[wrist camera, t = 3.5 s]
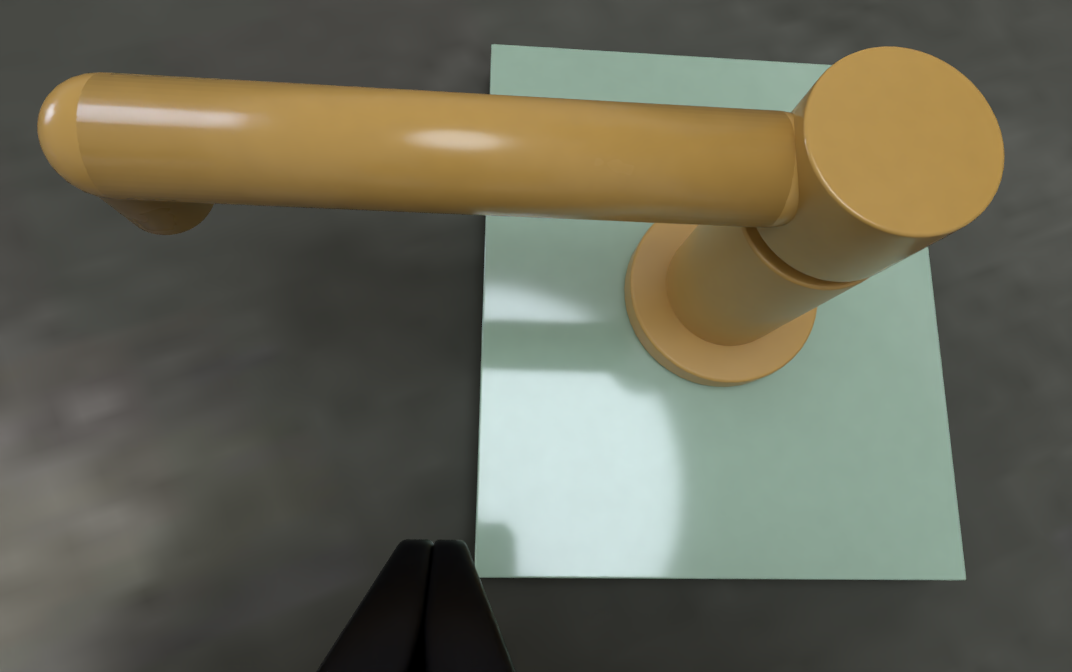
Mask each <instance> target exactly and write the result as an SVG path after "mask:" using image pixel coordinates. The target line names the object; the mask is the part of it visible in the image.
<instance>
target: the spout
mask: <svg viewBox="0 0 1072 672" xmlns="http://www.w3.org/2000/svg"><path fill="white" fill-rule="evenodd" d="M37 131H38V138H39V142H40V146H41V148H42V151H43V153H44V155H45V157H46V158H47V160H48V161H49V163H50V164H51V166H52V167H53V168H54V170H55V171H56V172H57V173H58V174H59V175H60V176H62V177H63V178H64V179H65V180H66V181H67V182H68V183H70V184H72V185H73V186H75V187H77V188H79V189H80V190H82V191H84V192H86V193H89V194H92V195H95V196H98V197H99V198H101V199H102V200H103V201H105V202H106V203H107V204H109V205H110V206H111V207H113V208H114V209H115V210H116V211H118V212H119V213H120V214H122V215H123V216H124V217H126V218H127V219H128V220H129V221H131V222H132V223H133V224H135V225H136V226H138V227H139V228H141V229H142V230H144V231H147V232H150V233H153V234H159V235H172V234H178V233H182V232H185V231H187V230H190V229H192V228H193V227H195V226H196V225H198V224H199V223H200V222H202V221H203V220H204V219H205V217H206V216H207V215H208V214H209V212H210V211H211V209H212V207H213V205H214V204H233V205H255V206H278V207H301V208H324V209H347V210H370V211H393V212H416V213H439V214H462V215H485V216H508V217H530V218H553V219H576V220H599V221H622V222H645V223H668V224H691V225H714V226H737V227H756V228H757V230H758V232H759V234H760V235H761V237H762V239H763V240H764V241H765V243H766V244H767V245H768V247H769V248H770V249H771V250H772V251H773V252H774V253H775V254H776V255H777V256H778V257H779V258H780V259H782V260H783V261H784V262H785V263H787V264H788V265H790V266H791V267H793V268H794V269H796V270H798V271H800V272H802V273H804V274H806V275H809V276H812V277H814V278H818V279H822V280H827V281H835V282H851V281H857V280H862V279H865V278H869V277H872V276H874V275H876V274H878V273H880V272H882V271H884V270H886V269H888V268H889V267H891V266H893V265H895V264H897V263H899V262H900V261H902V260H904V259H906V258H908V257H910V256H912V255H913V254H915V253H917V252H919V251H921V250H923V249H924V248H926V247H928V246H930V245H932V244H934V243H935V242H937V241H939V240H941V239H943V238H945V237H946V236H948V235H950V234H952V233H954V232H956V231H958V230H959V229H961V228H963V227H965V226H966V225H968V224H969V223H971V222H972V221H974V220H975V219H976V218H977V217H978V216H979V215H980V214H981V213H982V212H983V211H984V210H985V209H986V208H987V206H988V205H989V204H990V202H991V201H992V199H993V197H994V195H995V193H996V192H997V190H998V187H999V184H1000V181H1001V178H1002V173H1003V169H1004V144H1003V139H1002V134H1001V130H1000V127H999V125H998V122H997V119H996V117H995V115H994V113H993V111H992V109H991V107H990V105H989V104H988V102H987V101H986V99H985V98H984V96H983V95H982V94H981V92H980V91H979V90H978V89H977V87H976V86H975V85H974V84H973V83H972V82H971V81H970V80H969V79H968V78H967V77H965V76H964V75H963V74H962V73H960V72H959V71H958V70H957V69H955V68H954V67H952V66H951V65H949V64H947V63H946V62H944V61H942V60H940V59H938V58H936V57H934V56H932V55H929V54H926V53H924V52H921V51H917V50H913V49H909V48H902V47H876V48H869V49H865V50H861V51H858V52H855V53H853V54H850V55H848V56H846V57H844V58H842V59H841V60H839V61H837V62H836V63H834V64H833V65H832V66H831V67H829V68H828V69H827V70H826V71H825V72H824V73H823V74H822V75H821V76H820V77H819V79H818V80H817V81H816V82H815V83H814V85H813V86H812V87H811V88H810V90H809V91H808V92H807V93H806V94H805V96H804V97H803V98H802V99H801V101H800V102H799V103H798V104H797V105H796V107H795V108H794V109H793V110H792V111H791V112H786V111H778V110H760V109H743V108H725V107H707V106H690V105H672V104H654V103H636V102H619V101H601V100H583V99H565V98H548V97H530V96H512V95H495V94H477V93H459V92H441V91H424V90H406V89H388V88H370V87H353V86H335V85H317V84H300V83H282V82H264V81H246V80H229V79H211V78H193V77H175V76H158V75H140V74H122V73H104V72H99V73H87V74H82V75H79V76H75V77H71V78H69V79H68V80H66V81H64V82H62V83H61V84H59V85H58V86H56V87H55V88H54V89H53V90H52V91H51V92H50V93H49V95H48V96H47V97H46V98H45V101H44V103H43V105H42V107H41V109H40V112H39V115H38V122H37Z"/></svg>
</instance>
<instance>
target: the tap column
mask: <svg viewBox="0 0 1072 672" xmlns="http://www.w3.org/2000/svg"><path fill="white" fill-rule="evenodd" d="M869 278H870V277H869ZM867 279H868V278H865V279H862V280H857V281H851V282H835V281H827V280H822V279H818V278H814V277H812V276H809V275H806V274H804V273H802V272H800V271H798V270H796V269H794V268H793V267H791V266H790V265H788V264H787V263H785V262H784V261H783V260H782V259H780V258H779V257H778V256H777V255H776V254H775V253H774V252H773V251H772V250H771V249H770V248H769V247H768V245H767V244H766V243H765V241H764V240H763V239H762V237H761V235H760V234H759V232H758V230H757V228H756V227H737V226H714V225H691V224H668V223H654V224H653V225H652V226H651V227H650V228H649V229H648V231H647V232H646V233H645V234H644V236H643V237H642V239H641V240H640V242H639V244H638V245H637V247H636V249H635V251H634V252H633V254H632V256H631V259H630V262H629V264H628V268H627V272H626V276H625V286H624V291H625V304H626V309H627V313H628V317H629V320H630V323H631V325H632V327H633V330H634V332H635V334H636V336H637V337H638V339H639V341H640V342H641V344H642V345H643V346H644V348H645V349H646V350H647V351H648V353H649V354H650V355H651V356H652V357H653V358H654V359H655V360H656V361H657V362H658V363H659V364H661V365H662V366H663V367H665V368H666V369H667V370H669V371H670V372H672V373H674V374H676V375H677V376H679V377H681V378H684V379H686V380H689V381H691V382H694V383H698V384H702V385H707V386H714V387H731V386H738V385H743V384H746V383H750V382H753V381H756V380H758V379H761V378H763V377H765V376H768V375H770V374H772V373H774V372H776V371H777V370H779V369H781V368H782V367H784V366H785V365H786V364H787V363H788V362H790V361H791V360H792V359H793V358H794V357H795V356H796V355H797V353H798V352H799V351H800V350H801V348H802V347H803V346H804V344H805V343H806V341H807V339H808V337H809V335H810V333H811V331H812V328H813V325H814V321H815V318H816V312H817V307H818V306H819V305H821V304H823V303H825V302H827V301H829V300H830V299H832V298H834V297H836V296H838V295H840V294H842V293H843V292H845V291H847V290H849V289H851V288H853V287H854V286H856V285H858V284H860V283H862V282H863V281H865V280H867Z"/></svg>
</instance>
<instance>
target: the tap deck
mask: <svg viewBox="0 0 1072 672" xmlns="http://www.w3.org/2000/svg"><path fill="white" fill-rule="evenodd" d="M831 66H832V65H823V64H807V63H791V62H774V61H758V60H742V59H726V58H709V57H693V56H677V55H661V54H645V53H628V52H612V51H596V50H580V49H564V48H547V47H531V46H515V45H499V44H492V45H491V67H490V94H495V95H512V96H530V97H548V98H565V99H583V100H601V101H619V102H636V103H654V104H672V105H690V106H707V107H725V108H743V109H760V110H778V111H786V112H791V111H792V110H793V109H794V108H795V107H796V105H797V104H798V103H799V102H800V101H801V99H802V98H803V97H804V96H805V94H806V93H807V92H808V91H809V90H810V88H811V87H812V86H813V85H814V83H815V82H816V81H817V80H818V79H819V77H820V76H821V75H822V74H823V73H824V72H825V71H826V70H827V69H828V68H829V67H831ZM653 224H654V223H645V222H622V221H599V220H576V219H553V218H530V217H508V216H486V222H485V253H484V284H483V315H482V346H481V377H480V408H479V439H478V470H477V501H476V532H475V563H474V565H475V568H476V570H477V573H478V575H479V578H611V579H791V580H966V573H965V564H964V555H963V547H962V538H961V529H960V521H959V512H958V503H957V494H956V486H955V477H954V468H953V460H952V451H951V442H950V433H949V425H948V416H947V407H946V399H945V390H944V381H943V372H942V364H941V355H940V346H939V338H938V329H937V320H936V311H935V303H934V294H933V285H932V277H931V268H930V259H929V250H928V247H926V248H924V249H923V250H921V251H919V252H917V253H915V254H913V255H912V256H910V257H908V258H906V259H904V260H902V261H900V262H899V263H897V264H895V265H893V266H891V267H889V268H888V269H886V270H884V271H882V272H880V273H878V274H876V275H874V276H872V277H870V278H868V279H867V280H865V281H863V282H862V283H860V284H858V285H856V286H854V287H853V288H851V289H849V290H847V291H845V292H843V293H842V294H840V295H838V296H836V297H834V298H832V299H830V300H829V301H827V302H825V303H823V304H821V305H819V306H818V307H817V312H816V318H815V321H814V325H813V328H812V331H811V333H810V335H809V337H808V339H807V341H806V343H805V344H804V346H803V347H802V348H801V350H800V351H799V352H798V353H797V355H796V356H795V357H794V358H793V359H792V360H791V361H790V362H788V363H787V364H786V365H785V366H784V367H782V368H781V369H779V370H777V371H776V372H774V373H772V374H770V375H768V376H765V377H763V378H761V379H758V380H756V381H753V382H750V383H746V384H743V385H738V386H731V387H714V386H707V385H702V384H698V383H694V382H691V381H689V380H686V379H684V378H681V377H679V376H677V375H676V374H674V373H672V372H670V371H669V370H667V369H666V368H665V367H663V366H662V365H661V364H659V363H658V362H657V361H656V360H655V359H654V358H653V357H652V356H651V355H650V354H649V353H648V351H647V350H646V349H645V348H644V346H643V345H642V344H641V342H640V341H639V339H638V337H637V336H636V334H635V332H634V330H633V327H632V325H631V323H630V320H629V317H628V313H627V309H626V304H625V291H624V286H625V276H626V272H627V268H628V264H629V262H630V259H631V256H632V254H633V252H634V251H635V249H636V247H637V245H638V244H639V242H640V240H641V239H642V237H643V236H644V234H645V233H646V232H647V231H648V229H649V228H650V227H651V226H652V225H653Z"/></svg>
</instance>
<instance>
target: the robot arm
mask: <svg viewBox="0 0 1072 672" xmlns="http://www.w3.org/2000/svg"><path fill="white" fill-rule="evenodd" d="M316 672H516V671H515V668H514V666H513V663H512V661H511V658H510V656H509V653H508V650H507V648H506V645H505V643H504V640H503V637H502V635H501V632H500V630H499V627H498V624H497V622H496V619H495V617H494V614H493V612H492V609H491V606H490V604H489V601H488V599H487V596H486V593H485V591H484V588H483V586H482V583H481V580H480V578H479V575H478V573H477V570H476V568H475V565H474V562H473V560H472V557H471V555H470V552H469V549H468V547H467V545H466V543H465V542H464V541H462V540H437V541H435V543H434V545H433V543H432V542H431V541H430V540H422V539H406V540H403V541H401V542H400V543H399V544H398V546H397V547H396V549H395V550H394V552H393V554H392V555H391V557H390V558H389V560H388V561H387V563H386V564H385V566H384V567H383V569H382V571H381V572H380V574H379V575H378V577H377V578H376V580H375V581H374V583H373V584H372V586H371V588H370V589H369V591H368V592H367V594H366V595H365V597H364V598H363V600H362V601H361V603H360V605H359V606H358V608H357V609H356V611H355V612H354V614H353V615H352V617H351V619H350V620H349V622H348V623H347V625H346V626H345V628H344V629H343V631H342V632H341V634H340V636H339V637H338V639H337V640H336V642H335V643H334V645H333V646H332V648H331V649H330V651H329V653H328V654H327V656H326V657H325V659H324V660H323V662H322V663H321V665H320V666H319V668H318V670H317V671H316Z"/></svg>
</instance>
